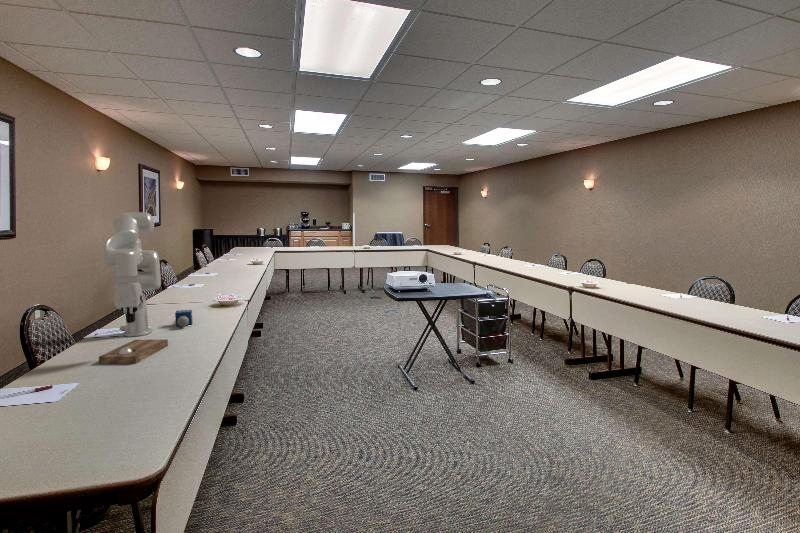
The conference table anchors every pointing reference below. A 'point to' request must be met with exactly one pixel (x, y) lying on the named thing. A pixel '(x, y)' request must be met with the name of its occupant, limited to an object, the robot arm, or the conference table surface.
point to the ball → (126, 351)
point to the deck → (139, 349)
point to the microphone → (183, 318)
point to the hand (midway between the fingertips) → (131, 322)
